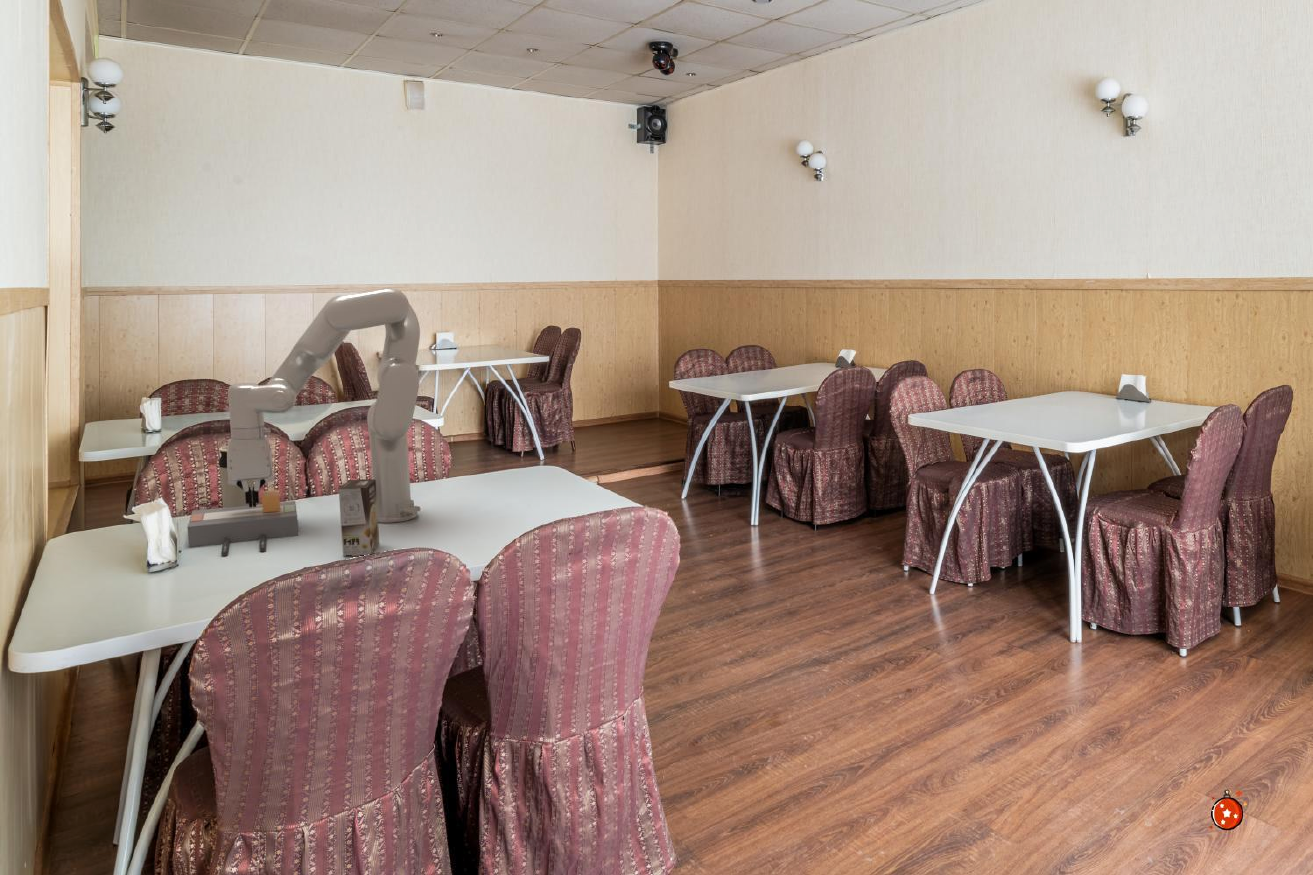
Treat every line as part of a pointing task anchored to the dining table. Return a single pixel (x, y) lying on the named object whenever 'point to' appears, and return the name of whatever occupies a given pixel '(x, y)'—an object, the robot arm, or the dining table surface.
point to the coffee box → (359, 517)
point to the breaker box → (241, 525)
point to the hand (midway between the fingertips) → (252, 505)
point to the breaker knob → (270, 501)
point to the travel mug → (231, 493)
